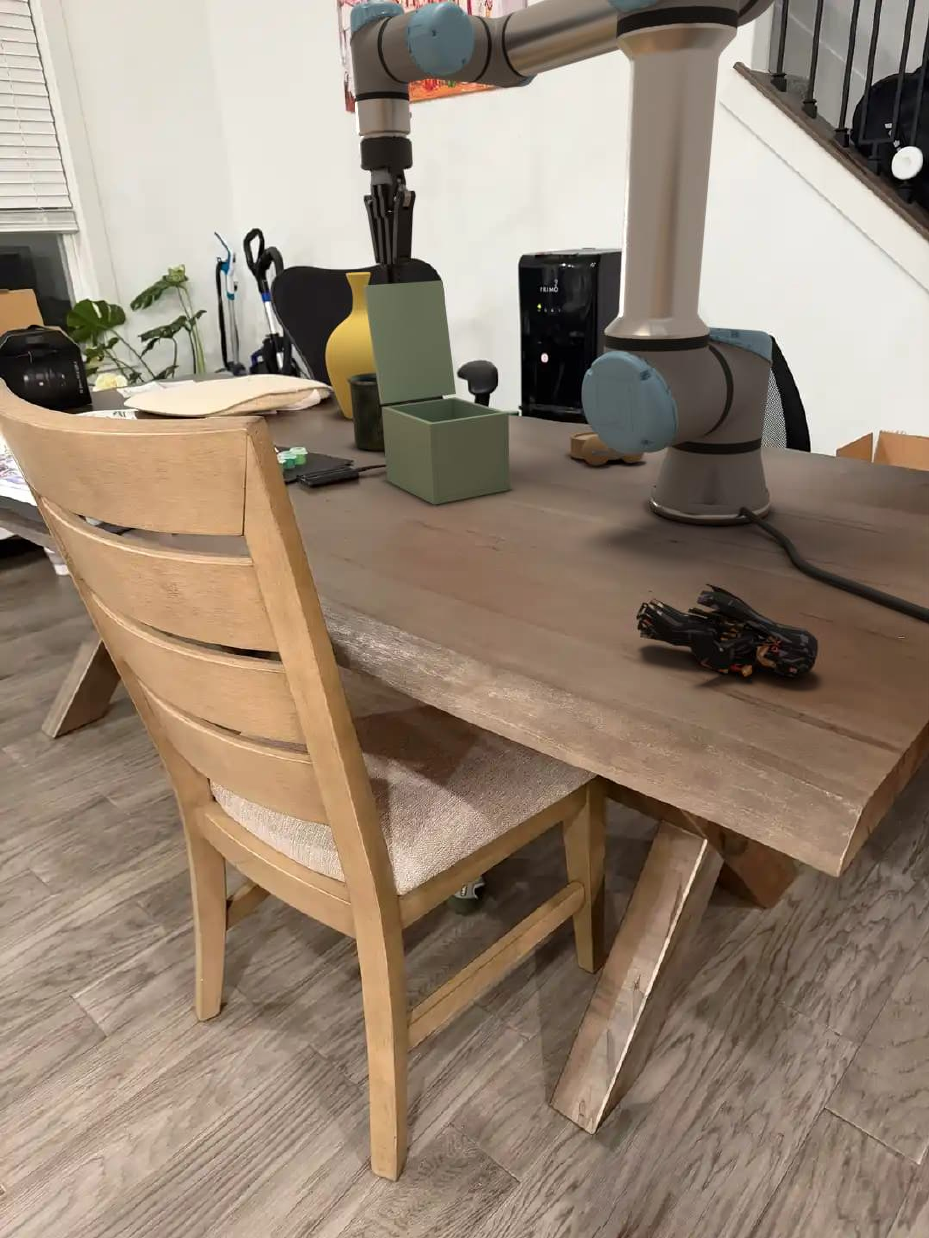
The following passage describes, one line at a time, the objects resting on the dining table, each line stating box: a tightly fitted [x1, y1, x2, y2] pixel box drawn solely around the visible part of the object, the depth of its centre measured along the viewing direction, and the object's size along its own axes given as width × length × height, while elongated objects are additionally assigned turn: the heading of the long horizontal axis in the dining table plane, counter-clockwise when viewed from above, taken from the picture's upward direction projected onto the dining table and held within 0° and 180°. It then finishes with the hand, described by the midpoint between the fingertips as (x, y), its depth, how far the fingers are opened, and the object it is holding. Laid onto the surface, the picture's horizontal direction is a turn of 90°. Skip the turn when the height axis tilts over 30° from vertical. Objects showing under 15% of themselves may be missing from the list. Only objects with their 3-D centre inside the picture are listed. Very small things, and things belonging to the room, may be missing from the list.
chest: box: [382, 397, 510, 506], centre depth 125 cm, size 16×13×11 cm
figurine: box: [635, 583, 819, 678], centre depth 72 cm, size 9×8×15 cm
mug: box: [347, 373, 409, 451], centre depth 149 cm, size 11×15×12 cm
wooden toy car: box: [569, 430, 645, 467], centre depth 138 cm, size 11×5×15 cm
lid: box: [364, 280, 457, 404], centre depth 126 cm, size 17×13×1 cm
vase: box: [325, 271, 376, 420], centre depth 173 cm, size 16×16×28 cm
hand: (396, 315), depth 129 cm, fingers closed
